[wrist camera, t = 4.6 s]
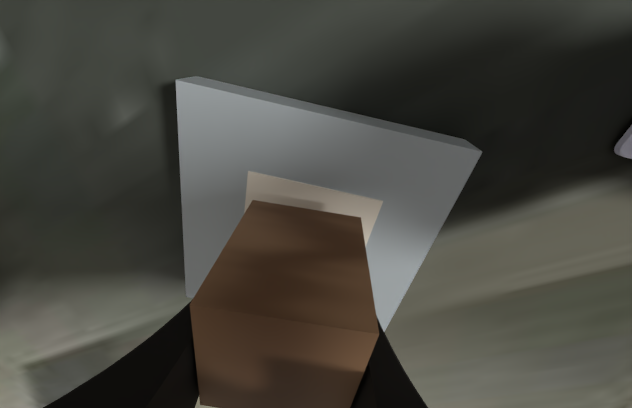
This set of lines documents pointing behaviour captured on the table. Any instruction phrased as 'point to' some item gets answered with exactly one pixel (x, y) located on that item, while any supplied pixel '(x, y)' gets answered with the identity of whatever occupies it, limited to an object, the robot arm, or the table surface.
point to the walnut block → (285, 312)
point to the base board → (313, 176)
